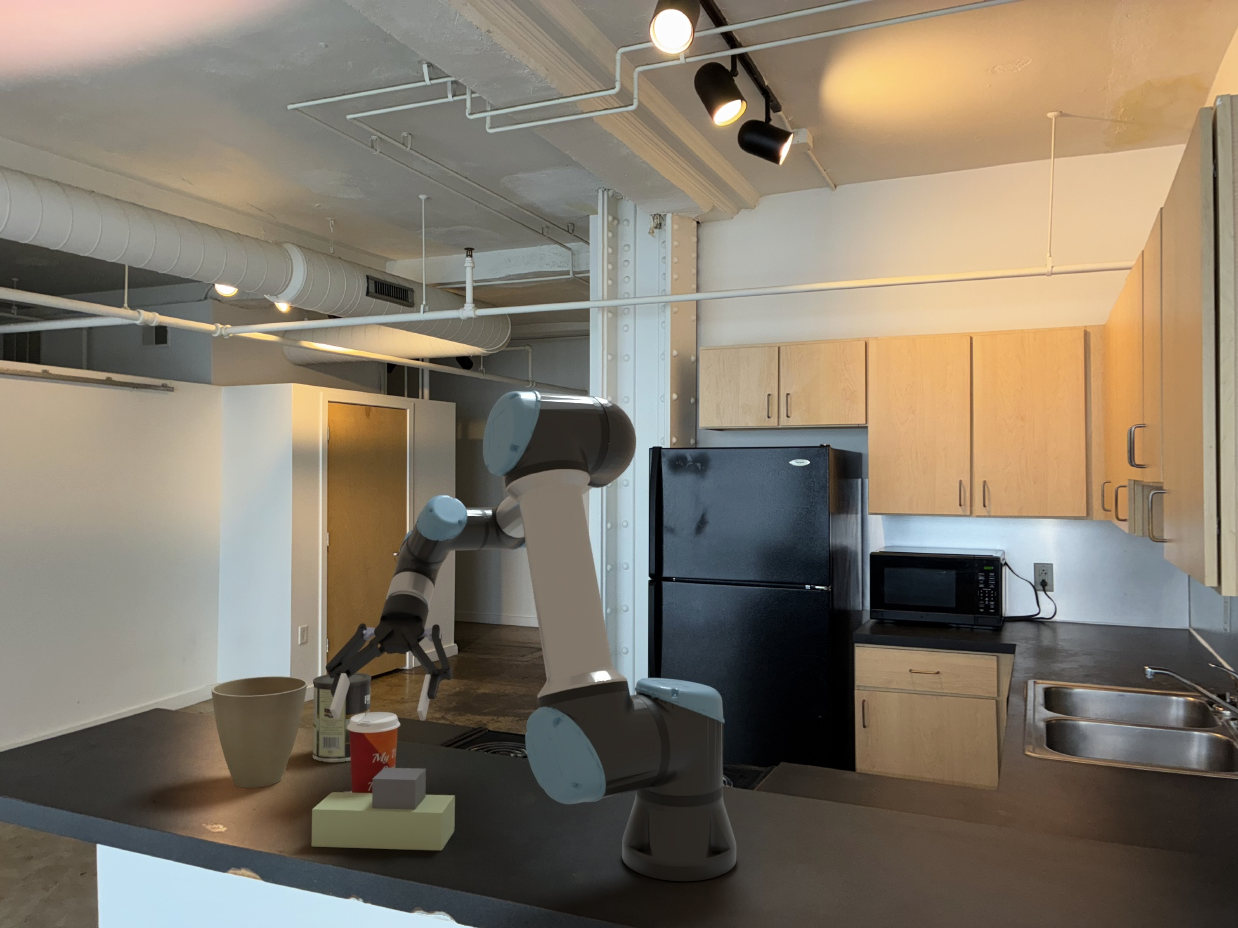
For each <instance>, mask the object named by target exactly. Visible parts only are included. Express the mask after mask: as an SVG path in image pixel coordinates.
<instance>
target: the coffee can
mask: <svg viewBox="0 0 1238 928" xmlns="http://www.w3.org/2000/svg"><path fill="white" fill-rule="evenodd" d="M333 680H334V678H330V677H329V675H328V674H323V675H320V676H316V677H314V678H313V679H312V685H313V712H312V713H313V719H312V721H313V722H312V723H313V724H312V727H313V728H312V729H313V730H312V731H313V734H312V759H314V760H315V759H316V760H315V761H317V760H318V762H321V761H323V762H322V763H344V762H345V761H346V762H351V758H350V733H349V730H348V729H347V726H348V725H349V724H350V719H351V717H353V716H355V715H358V714H362V713H368V712H371V681H372V676H371V675H370V674H367V673H365V672H364V673H362V672H356V673H355V674H353V675H352V676H351V677H349V678H348V680H349V682H350V685H349V688H348V691H347V694H346V698H345V701H344V704H343V707H342V711H341V714H340V717H339V719H334V717H333V715H332V713H331V711H330V707H331V704H332V701H333V698H334V697H333V696H332V694H331V687H332V684H333ZM346 762H345V763H346Z"/></svg>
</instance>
